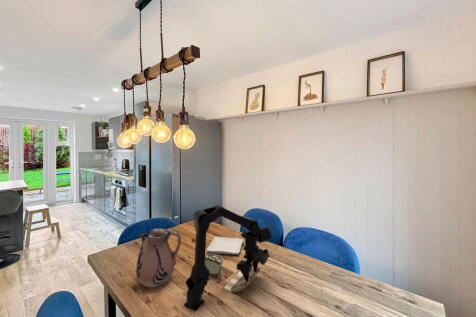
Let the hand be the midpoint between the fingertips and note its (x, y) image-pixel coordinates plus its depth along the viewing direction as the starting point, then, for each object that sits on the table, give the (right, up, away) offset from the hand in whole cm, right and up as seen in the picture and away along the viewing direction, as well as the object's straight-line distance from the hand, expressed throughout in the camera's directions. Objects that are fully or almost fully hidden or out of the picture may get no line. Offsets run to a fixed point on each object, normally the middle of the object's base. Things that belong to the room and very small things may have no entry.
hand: (251, 276), depth 105 cm
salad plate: (-15, -4, +40) cm, 43 cm away
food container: (-19, -5, +10) cm, 22 cm away
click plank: (-2, -3, +1) cm, 4 cm away
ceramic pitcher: (-46, -5, +4) cm, 46 cm away
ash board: (-7, -5, +4) cm, 9 cm away
